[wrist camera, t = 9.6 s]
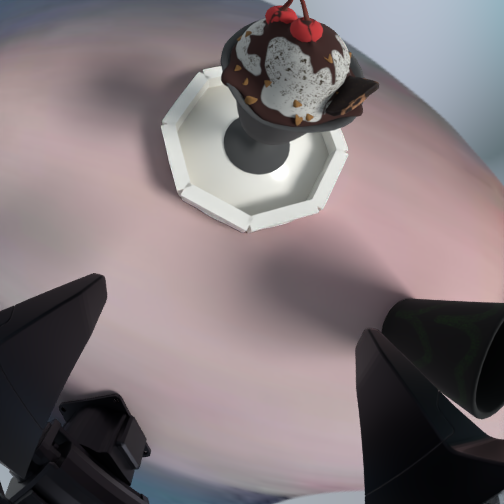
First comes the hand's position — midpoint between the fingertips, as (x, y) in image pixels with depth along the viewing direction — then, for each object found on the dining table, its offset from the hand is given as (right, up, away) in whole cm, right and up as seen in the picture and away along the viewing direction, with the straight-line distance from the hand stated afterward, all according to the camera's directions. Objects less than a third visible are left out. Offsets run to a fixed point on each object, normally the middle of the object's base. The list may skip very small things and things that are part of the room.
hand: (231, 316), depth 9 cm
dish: (+1, +10, +12) cm, 16 cm away
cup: (+15, -5, +15) cm, 21 cm away
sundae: (+1, +10, +12) cm, 15 cm away
